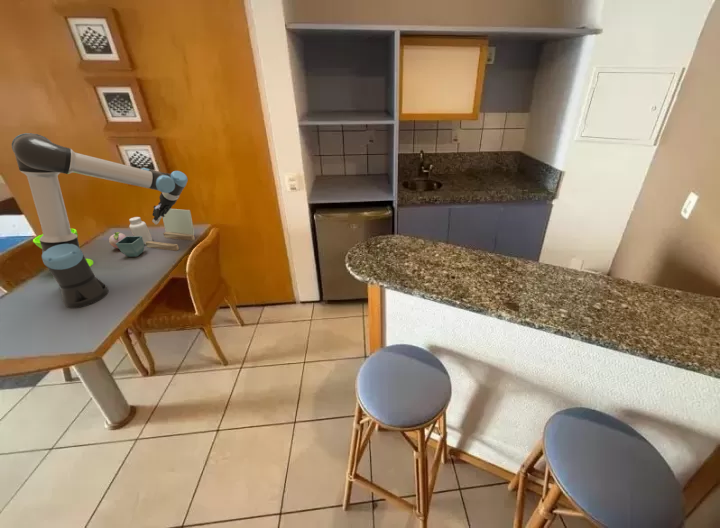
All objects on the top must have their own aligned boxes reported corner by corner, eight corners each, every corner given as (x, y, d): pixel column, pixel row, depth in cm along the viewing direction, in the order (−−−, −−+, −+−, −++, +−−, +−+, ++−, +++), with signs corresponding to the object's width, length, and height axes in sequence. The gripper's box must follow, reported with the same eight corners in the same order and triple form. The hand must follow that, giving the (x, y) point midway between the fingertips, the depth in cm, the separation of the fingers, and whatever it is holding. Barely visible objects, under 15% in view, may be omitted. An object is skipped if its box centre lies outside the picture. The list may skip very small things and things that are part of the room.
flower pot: (138, 258, 162) (131, 243, 157) (122, 258, 162) (114, 243, 158) (148, 250, 170) (142, 236, 165) (133, 250, 170) (126, 236, 165)
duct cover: (189, 210, 174) (190, 210, 175) (160, 208, 178) (162, 207, 180) (193, 234, 179) (195, 233, 180) (165, 231, 184) (167, 230, 185)
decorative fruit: (113, 247, 174) (105, 231, 169) (130, 243, 178) (122, 227, 173) (113, 254, 167) (105, 237, 162) (131, 249, 171) (124, 233, 166)
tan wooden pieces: (176, 250, 168) (164, 220, 159) (147, 247, 173) (134, 217, 164) (201, 235, 185) (192, 206, 176) (174, 232, 190) (164, 204, 181)
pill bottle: (137, 241, 180) (126, 217, 172) (152, 238, 183) (143, 214, 176) (137, 246, 174) (126, 222, 166) (153, 243, 178) (143, 219, 170)
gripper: (165, 204, 156) (150, 231, 168) (184, 197, 166) (169, 223, 179) (153, 193, 154) (139, 221, 166) (173, 186, 165) (159, 213, 177)
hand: (155, 222), depth 172 cm, fingers closed
